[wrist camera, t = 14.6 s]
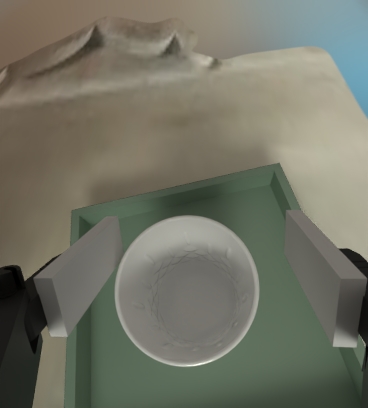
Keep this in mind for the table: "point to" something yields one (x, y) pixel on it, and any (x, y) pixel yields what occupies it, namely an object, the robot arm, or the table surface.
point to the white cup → (186, 291)
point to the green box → (250, 344)
